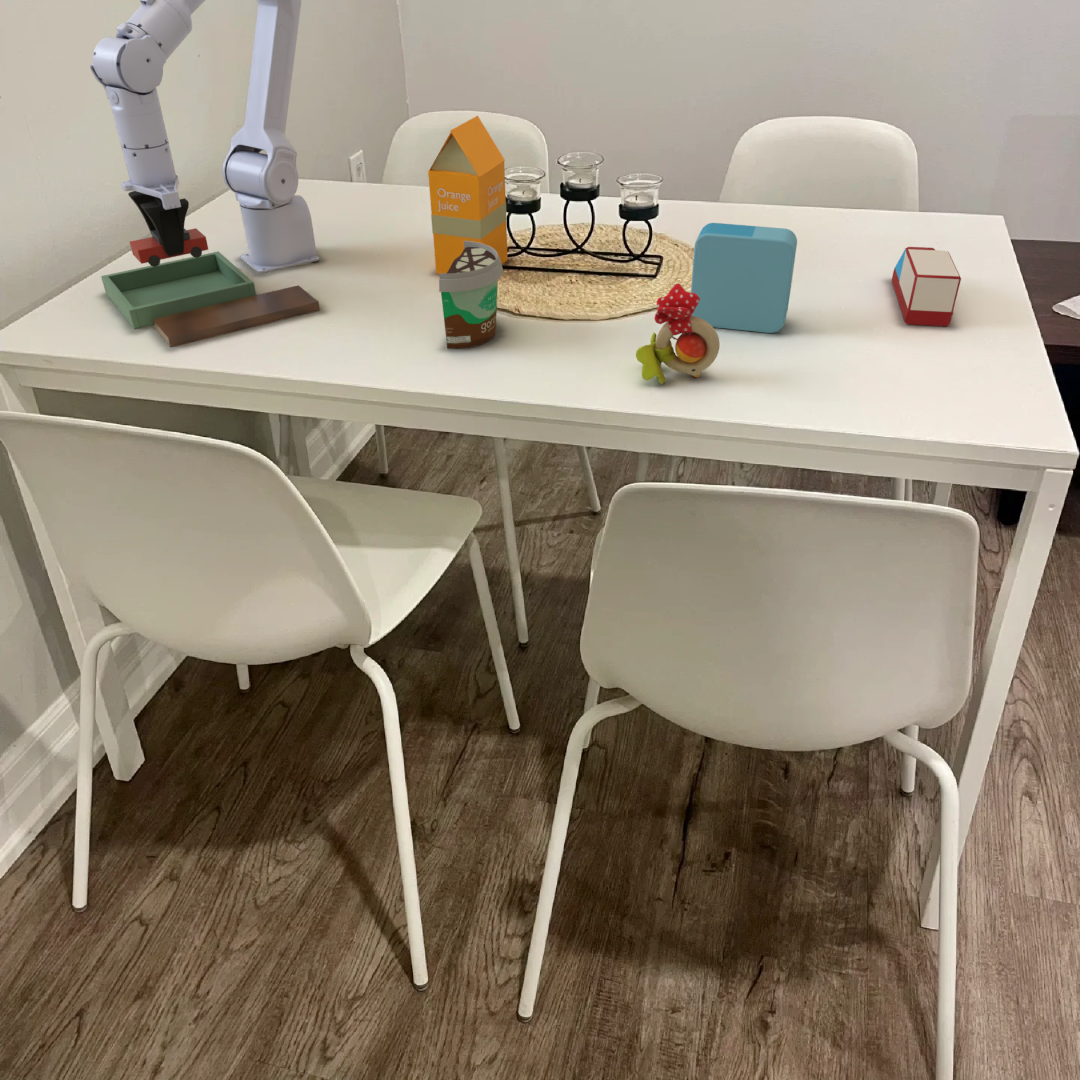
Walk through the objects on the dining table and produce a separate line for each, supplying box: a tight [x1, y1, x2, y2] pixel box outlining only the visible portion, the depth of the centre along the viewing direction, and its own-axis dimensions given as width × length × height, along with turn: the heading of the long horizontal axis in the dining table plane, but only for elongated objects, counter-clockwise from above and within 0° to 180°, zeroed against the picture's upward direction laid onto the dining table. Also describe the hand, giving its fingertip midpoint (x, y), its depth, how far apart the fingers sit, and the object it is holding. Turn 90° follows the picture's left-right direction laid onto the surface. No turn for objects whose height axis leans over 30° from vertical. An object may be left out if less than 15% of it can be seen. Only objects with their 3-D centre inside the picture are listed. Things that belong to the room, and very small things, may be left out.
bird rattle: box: [635, 283, 721, 385], centre depth 114 cm, size 6×11×9 cm
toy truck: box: [891, 246, 962, 328], centre depth 131 cm, size 6×15×7 cm, turn 171°
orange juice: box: [427, 115, 509, 275], centre depth 140 cm, size 8×9×20 cm
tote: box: [100, 251, 257, 330], centre depth 137 cm, size 17×15×3 cm
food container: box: [438, 241, 504, 350], centre depth 124 cm, size 12×6×10 cm, turn 168°
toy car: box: [129, 228, 209, 267], centre depth 133 cm, size 9×4×3 cm, turn 123°
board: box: [153, 284, 321, 348], centre depth 131 cm, size 20×7×2 cm, turn 123°
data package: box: [690, 222, 798, 334], centre depth 125 cm, size 12×4×12 cm, turn 73°
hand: (170, 249), depth 134 cm, fingers closed on toy car, 4 cm apart
